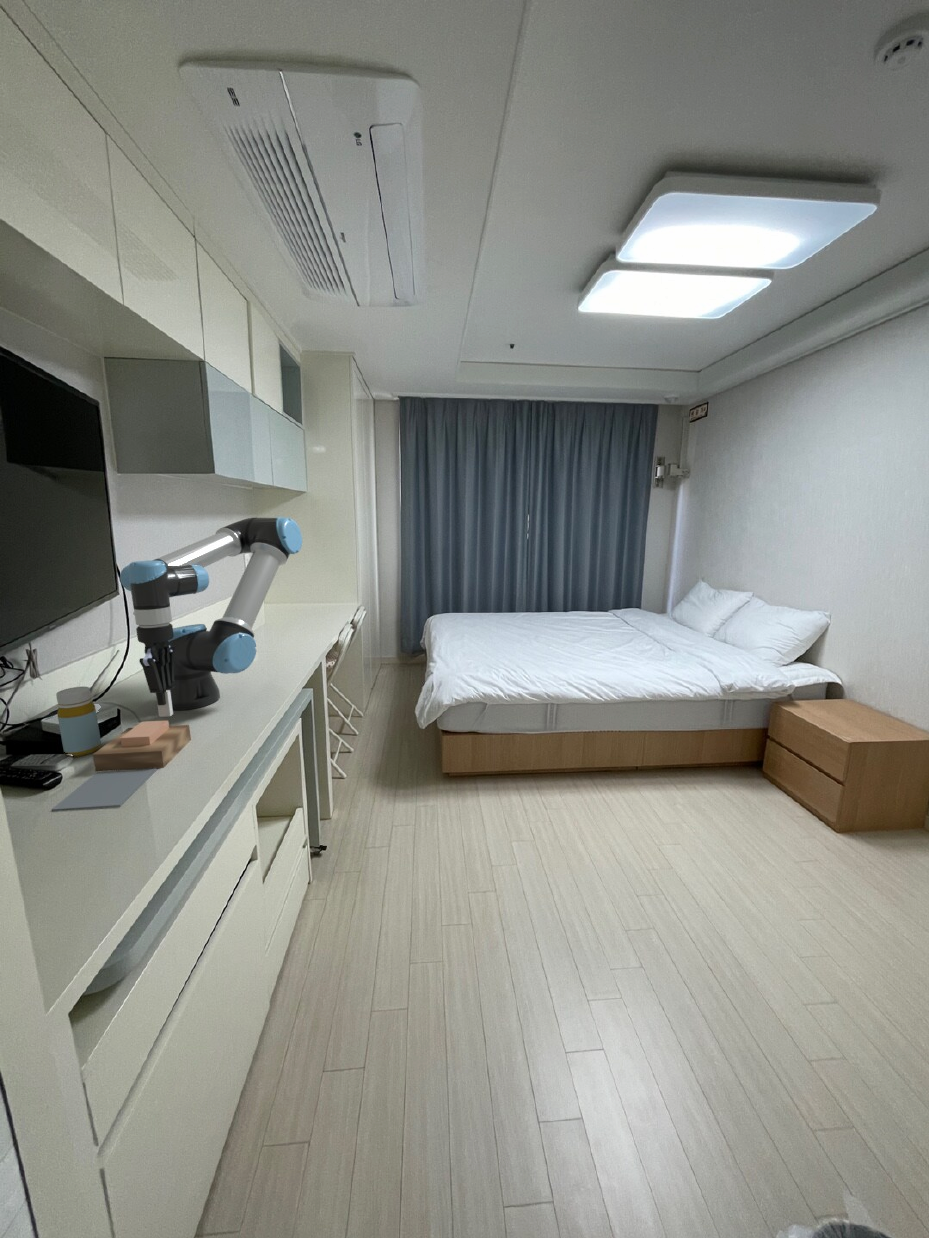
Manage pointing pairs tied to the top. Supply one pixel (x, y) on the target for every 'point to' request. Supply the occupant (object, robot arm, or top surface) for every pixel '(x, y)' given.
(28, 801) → the top surface
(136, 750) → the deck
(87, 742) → the bottle
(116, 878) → the top surface
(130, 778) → the mat
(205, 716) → the top surface
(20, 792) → the top surface
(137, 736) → the tile
